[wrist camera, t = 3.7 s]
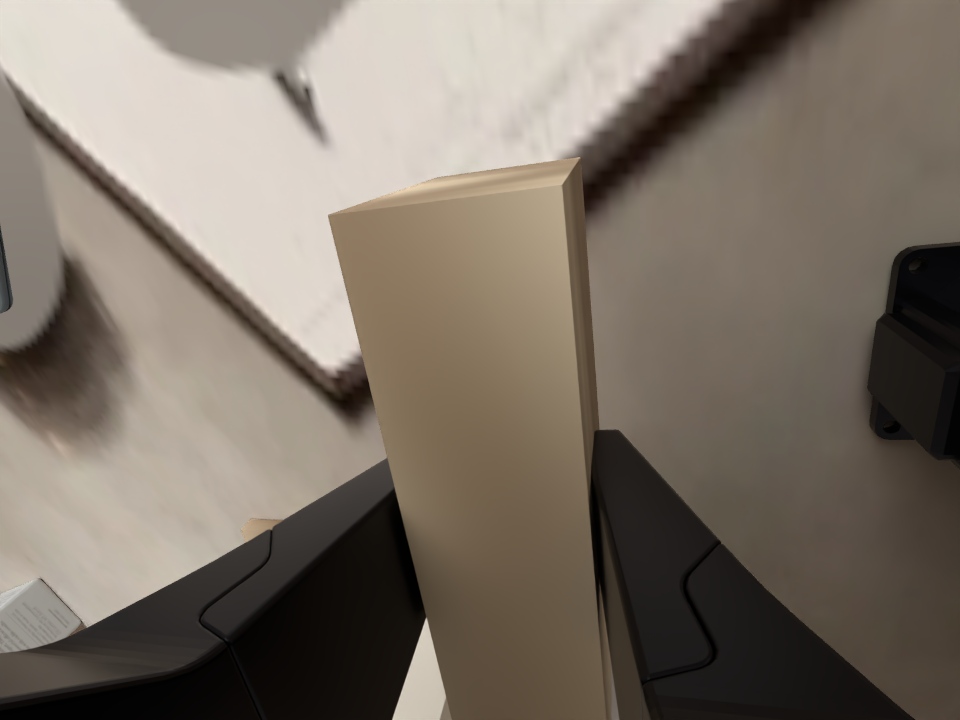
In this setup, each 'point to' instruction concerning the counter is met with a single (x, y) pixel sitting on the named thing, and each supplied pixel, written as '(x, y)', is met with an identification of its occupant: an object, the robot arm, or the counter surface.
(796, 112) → the counter surface
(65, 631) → the skincare box
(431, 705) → the tile
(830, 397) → the counter surface
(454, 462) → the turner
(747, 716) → the robot arm
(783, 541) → the counter surface
